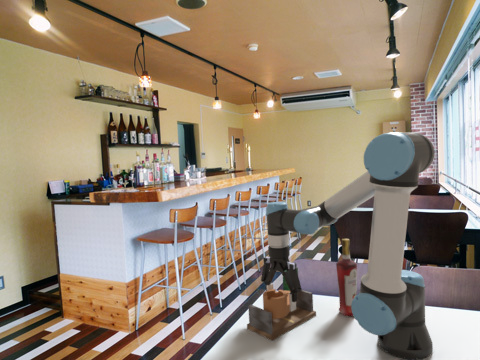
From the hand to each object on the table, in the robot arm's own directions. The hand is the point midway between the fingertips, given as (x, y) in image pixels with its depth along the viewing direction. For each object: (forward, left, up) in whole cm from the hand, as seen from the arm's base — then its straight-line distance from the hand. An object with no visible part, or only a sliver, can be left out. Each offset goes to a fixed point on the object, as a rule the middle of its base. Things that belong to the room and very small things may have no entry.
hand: (281, 305), depth 126 cm
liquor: (-14, -21, -6) cm, 26 cm away
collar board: (0, 0, -6) cm, 6 cm away
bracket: (0, +1, -1) cm, 1 cm away
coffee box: (+10, -17, -6) cm, 21 cm away
